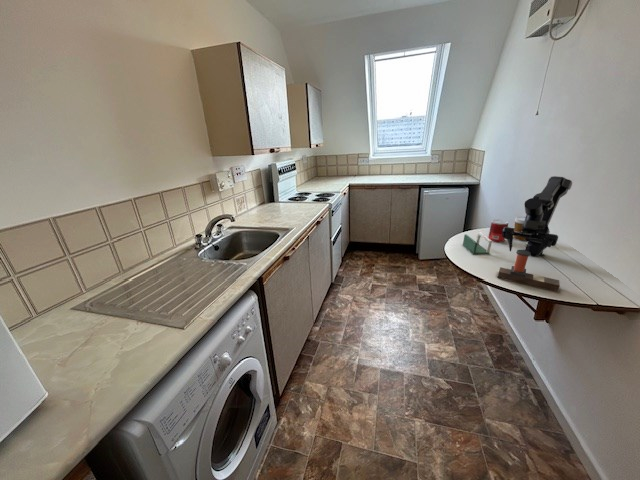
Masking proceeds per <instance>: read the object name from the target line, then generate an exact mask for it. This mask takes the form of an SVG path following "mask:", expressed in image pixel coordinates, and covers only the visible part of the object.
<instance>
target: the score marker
mask: <svg viewBox="0 0 640 480" xmlns="http://www.w3.org/2000/svg"><path fill="white" fill-rule="evenodd" d="M516 254H517V255H516V258H515V262H514V265H511V268H510V269H511V273H510V275H515V276H519V277H523V278H525V276H526V273H527V268H526V265H527V262H528V259H529V257H530V256H531V255H530V254H531V253H530V252H529V251H526V250H525V249H517V250H516Z"/></svg>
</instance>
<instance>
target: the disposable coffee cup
mask: <svg viewBox="0 0 640 480" xmlns="http://www.w3.org/2000/svg"><path fill="white" fill-rule="evenodd" d="M525 218H526V216H516V217H515V218H514V227H513V228H514V231H517V232H521V229H522V226H523V224H524V221H525ZM513 240H516V241H526V238H525V237H520V236H514V235H513Z"/></svg>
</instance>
